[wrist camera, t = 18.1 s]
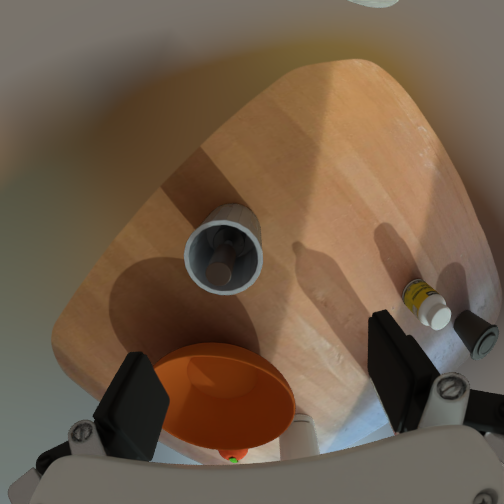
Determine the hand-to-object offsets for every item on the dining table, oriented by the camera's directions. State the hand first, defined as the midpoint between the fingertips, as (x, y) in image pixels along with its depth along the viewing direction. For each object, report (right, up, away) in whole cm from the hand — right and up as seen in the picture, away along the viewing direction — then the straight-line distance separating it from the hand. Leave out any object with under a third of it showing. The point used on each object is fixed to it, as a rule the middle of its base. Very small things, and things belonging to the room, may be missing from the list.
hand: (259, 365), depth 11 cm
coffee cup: (+44, -10, +35) cm, 57 cm away
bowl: (-6, -18, +38) cm, 43 cm away
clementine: (-4, -39, +45) cm, 60 cm away
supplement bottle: (+28, -3, +33) cm, 43 cm away
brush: (-3, +7, +29) cm, 30 cm away
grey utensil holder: (-3, +7, +30) cm, 31 cm away
